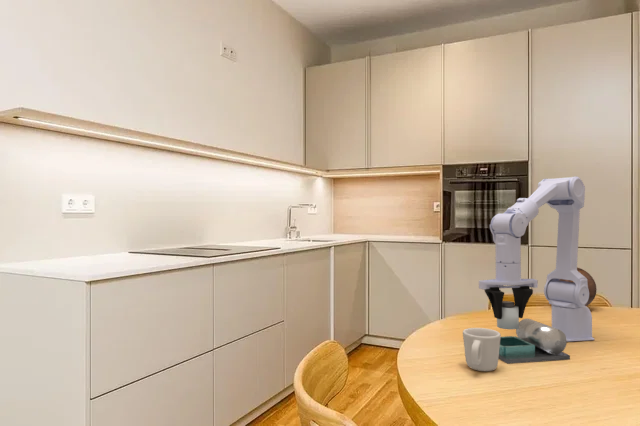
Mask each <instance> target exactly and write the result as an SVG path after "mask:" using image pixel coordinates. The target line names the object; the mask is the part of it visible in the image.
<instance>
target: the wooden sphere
mask: <svg viewBox="0 0 640 426" xmlns="http://www.w3.org/2000/svg"><path fill="white" fill-rule="evenodd" d="M577 271H578V272H579V273H581V274H582V275H583V276H584V277H586V278H587V283H588V289H589V299H588V302H587V303H586V304H585V306H586V307H588V306H589V305H590V304H591V303H592V302H594V300H595V298H596V296H597V290H598V289H597V284H596V282H595V278H593V276H592V275H591V274H590V273H589V272H588V271H586V269H583V268H580V267H577ZM560 281H568V282H573V281H571V280H565V279H560Z"/></svg>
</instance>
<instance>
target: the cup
mask: <svg viewBox="0 0 640 426" xmlns="http://www.w3.org/2000/svg"><path fill="white" fill-rule="evenodd" d="M462 337H463V338H462V339H463V348H464V355H465V356H464V357H465V363H466V365H467V366H468V367H469V368H470V369H472V370H475V371H479V372H492V371H495V370H496V369H497V367H498V365H499V359H498V358H499V348H500V338H501V337H502V336H501V333H500V332H499V331H497V330H495V329H492V328H485V327H469V328H466V329H465V328H464V330H462Z"/></svg>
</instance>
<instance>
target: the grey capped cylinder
mask: <svg viewBox="0 0 640 426" xmlns="http://www.w3.org/2000/svg"><path fill="white" fill-rule="evenodd" d="M519 322H520V318H519V309H518V306H515V302H514V301H509V300H508V301H507V300H503V302H502V319H497V318H496V327H497V328H499V329H503V330H516V329H518V328H519Z"/></svg>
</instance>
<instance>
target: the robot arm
mask: <svg viewBox="0 0 640 426" xmlns="http://www.w3.org/2000/svg"><path fill="white" fill-rule="evenodd" d="M585 197H586V186H585V184H584V182H583V180H582V179H581V178H580V177H579V176H577V175H576V176H570V177H569V176H568V177H556V178H555V177H554V178H542V180H541V181H539V182H538V183H537V188H536V190H534V191H533V193H532V194H531V195H529V197H527V198H526V197H519V198H517V199H516V202H515V203H514V204H513V205H511V206H510V207H507V209H506V210H505V211H504V212H503V213H496V214H495V215H494V216H493V217H492V219H491V221H490V224H489V230H490V232H491V234H492V241H493V243H494V244H495V278H491V279H483V280H480V279H479V280H478V289H480V290H484V294H485V295H486V297H487V298H488V301H489V302H490V305H491V309H492V312H493V316H494V317H493V318H494V319H495V318H496V320H497V319H502V302H503V301H504V296H505V292H504V291H502V290H501V289H511V291H512V295H513V302H514V305H515V306H518V309H519V319H524V314H525V310H526V307H527V304H528V302H529V300H530V298H531V297H532V296H533V292H534V290H533V288H534V289H535V288H536V289H537V288H538V286H539V285H538V281H539V280H538V279H535V278H522V267H521V264H522V262H521V261H522V259H521V258H522V257H521V254H522V253H521V250H522V249H521V243H522V241H521V240H522V239H521V237H522V236H524V235H525V234H526V230H527V226H529V224H530V222H531V221H532V220H534V219H535V218H536V217H537V216H538V215H539V211H540V210H539V209H540V208H541V207H543V206H544V205H545V204H546V205H547V206H549V207H550V208H552V209H554V210H556V211H557V213H558V219H557V220H558V223H557V240H556V243H557V244H556V258H555V261H556V262H555V268H554V270H552V271H551V272H549V273H548V274H547V275H546V282H545V284H544V286H543V295H544V297H545V299H546V300H547V301H548V305H551V327H553V328H556V329H558V330H561V331H562V332H563V333H564V334H565V336H566V339H567V343H568V342H581V341H582V342H583V341H585V342H586V341H594V340H595V338H594V336H593V315H592V312H591V309H590V308H589V307H588V306H585V304H586V303H587V302H588V299H589V289H588V283H587V278H586V277H584V276H583V275H582V274H581V273H579V272H578V271H577V268H578V259H579V258H578V253H579V236H580V216H581V215H580V214H581V213H580V212H581V209H583V208H584V207H585V199H586V198H585ZM560 279H565V280H571V281H573V282H568V281H560Z"/></svg>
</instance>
